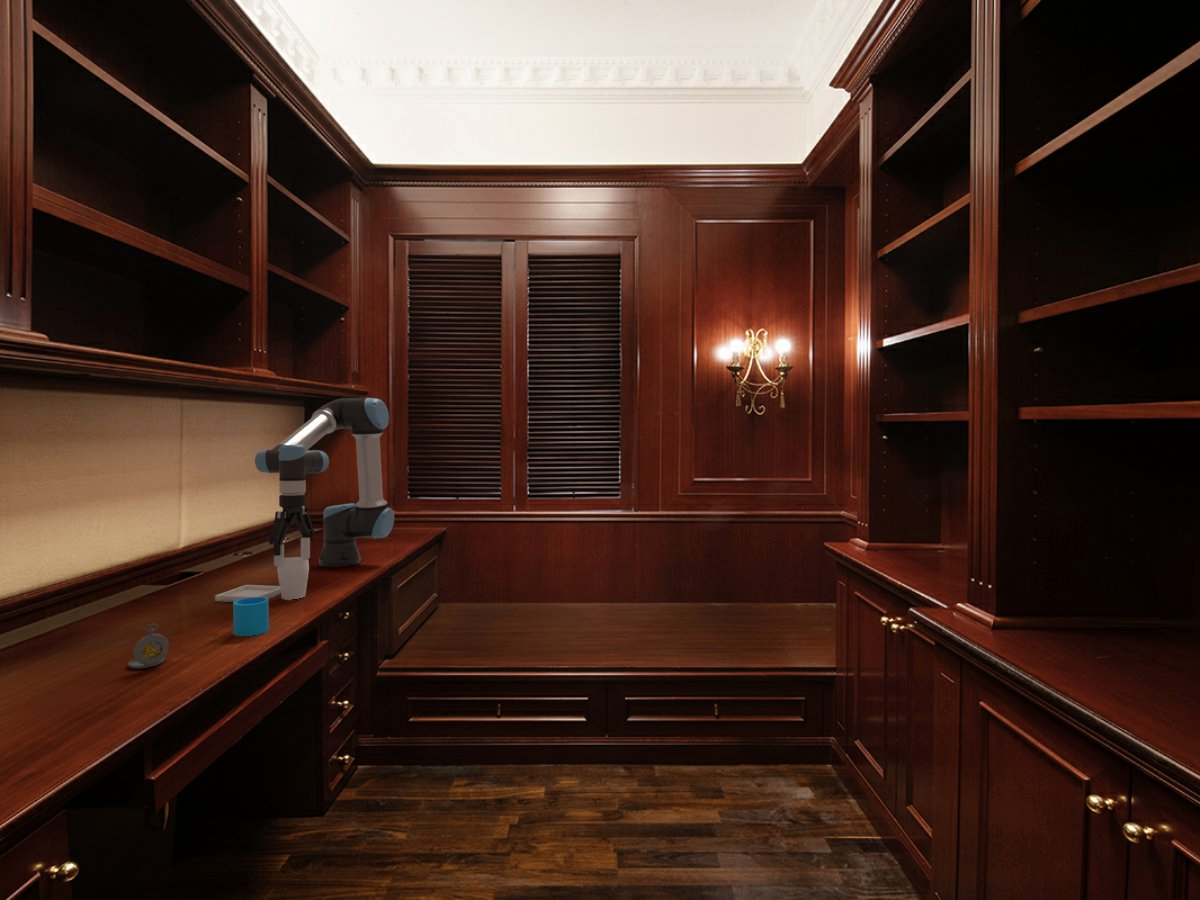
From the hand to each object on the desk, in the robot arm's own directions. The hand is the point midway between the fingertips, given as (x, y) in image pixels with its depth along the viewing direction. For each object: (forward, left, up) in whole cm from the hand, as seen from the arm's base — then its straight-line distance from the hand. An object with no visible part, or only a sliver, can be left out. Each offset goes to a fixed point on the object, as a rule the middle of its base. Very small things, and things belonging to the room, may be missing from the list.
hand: (292, 561), depth 206 cm
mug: (+32, +10, -12) cm, 35 cm away
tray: (+2, -13, -11) cm, 17 cm away
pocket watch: (+60, +4, -12) cm, 61 cm away
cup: (0, 0, -11) cm, 11 cm away
